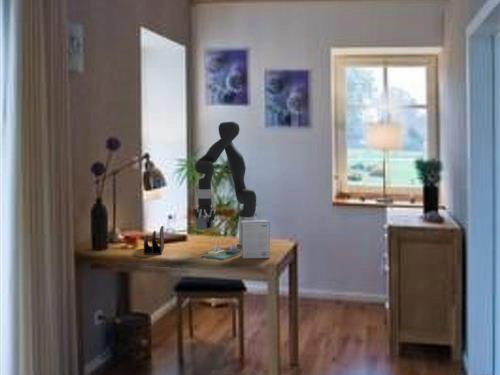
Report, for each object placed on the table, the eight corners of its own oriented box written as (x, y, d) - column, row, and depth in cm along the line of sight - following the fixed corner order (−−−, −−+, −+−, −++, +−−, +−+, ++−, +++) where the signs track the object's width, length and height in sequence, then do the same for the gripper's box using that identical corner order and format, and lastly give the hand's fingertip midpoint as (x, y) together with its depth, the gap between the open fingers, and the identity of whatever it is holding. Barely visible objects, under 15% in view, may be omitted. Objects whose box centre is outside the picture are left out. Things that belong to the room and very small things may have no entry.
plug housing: (206, 226, 374) (206, 216, 373) (213, 227, 372) (213, 216, 371) (196, 229, 366) (196, 218, 365) (203, 230, 363) (203, 219, 363)
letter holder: (164, 248, 388) (163, 224, 386) (161, 255, 368) (161, 230, 367) (146, 248, 387) (146, 224, 386) (143, 255, 368) (143, 230, 366)
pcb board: (219, 251, 378) (219, 241, 378) (240, 253, 371) (240, 244, 371) (202, 257, 363) (202, 247, 362) (223, 259, 356) (223, 249, 355)
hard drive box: (269, 255, 368) (269, 220, 365) (270, 258, 360) (270, 222, 358) (241, 255, 367) (241, 220, 365) (241, 258, 359) (241, 222, 357)
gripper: (219, 197, 366) (219, 227, 368) (198, 195, 374) (198, 225, 376) (211, 198, 360) (211, 229, 362) (190, 196, 367) (190, 227, 369)
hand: (205, 227), depth 369 cm, fingers closed on plug housing, 4 cm apart
